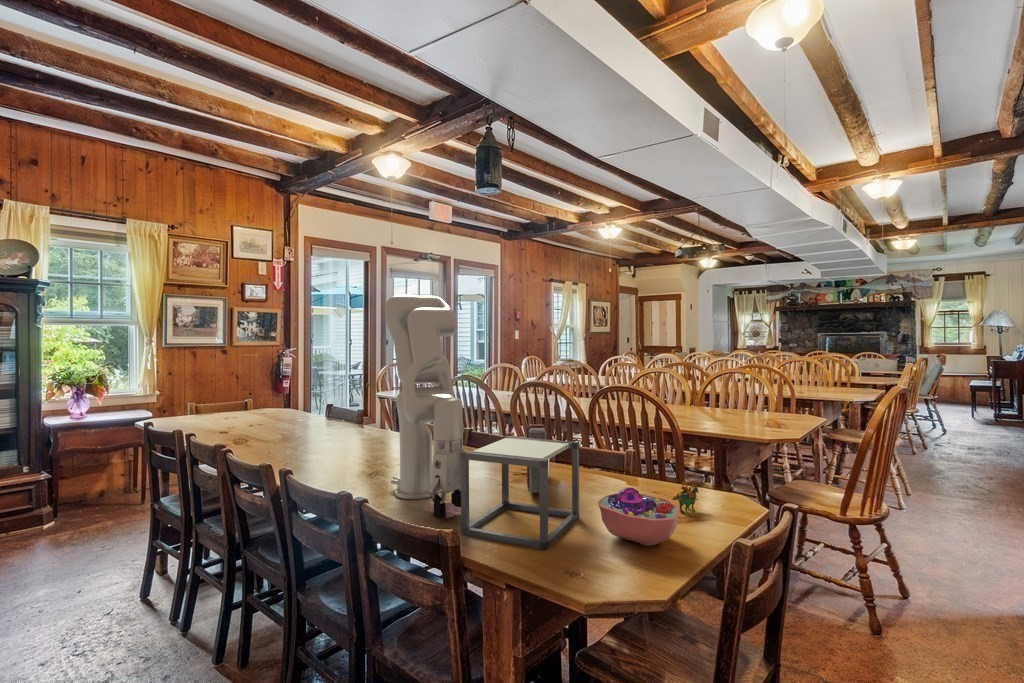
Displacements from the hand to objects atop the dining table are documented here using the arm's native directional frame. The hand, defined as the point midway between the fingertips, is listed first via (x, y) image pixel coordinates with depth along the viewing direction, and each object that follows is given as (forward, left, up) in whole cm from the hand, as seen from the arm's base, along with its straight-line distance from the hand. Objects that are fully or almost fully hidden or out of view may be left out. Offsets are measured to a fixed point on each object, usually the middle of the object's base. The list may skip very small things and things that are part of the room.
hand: (448, 512), depth 137 cm
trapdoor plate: (+20, +3, +17) cm, 27 cm away
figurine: (+55, +30, -1) cm, 62 cm away
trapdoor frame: (+20, +3, -1) cm, 20 cm away
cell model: (+48, +6, -1) cm, 48 cm away
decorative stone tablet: (+9, +38, -1) cm, 39 cm away
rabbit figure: (-1, 0, -2) cm, 2 cm away
